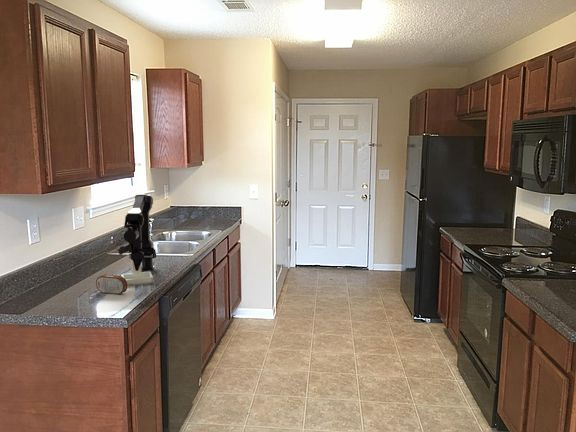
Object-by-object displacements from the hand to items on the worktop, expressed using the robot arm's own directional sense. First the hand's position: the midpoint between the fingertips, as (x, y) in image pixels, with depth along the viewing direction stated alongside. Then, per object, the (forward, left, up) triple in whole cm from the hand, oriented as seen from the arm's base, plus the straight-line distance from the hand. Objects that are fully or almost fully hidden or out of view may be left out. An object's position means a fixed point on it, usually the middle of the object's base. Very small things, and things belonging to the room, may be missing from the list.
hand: (136, 269), depth 230 cm
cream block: (0, 0, -2) cm, 3 cm away
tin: (+15, -12, -6) cm, 20 cm away
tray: (0, 0, -6) cm, 6 cm away
